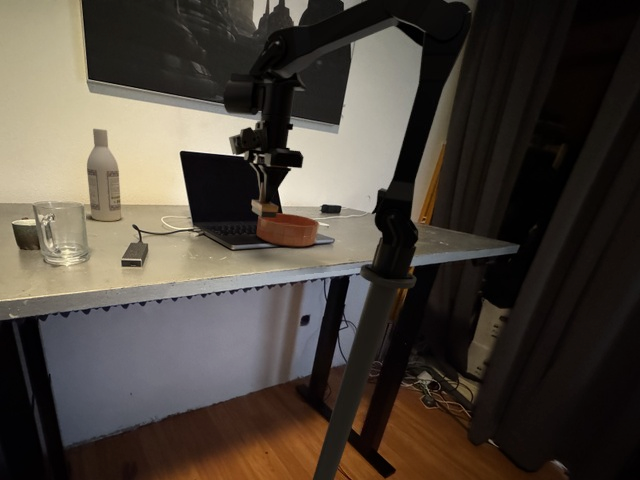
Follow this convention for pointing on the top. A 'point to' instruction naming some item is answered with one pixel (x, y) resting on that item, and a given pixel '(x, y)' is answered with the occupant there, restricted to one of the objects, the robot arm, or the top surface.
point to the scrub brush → (264, 206)
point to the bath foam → (103, 180)
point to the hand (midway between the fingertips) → (265, 200)
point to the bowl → (288, 230)
